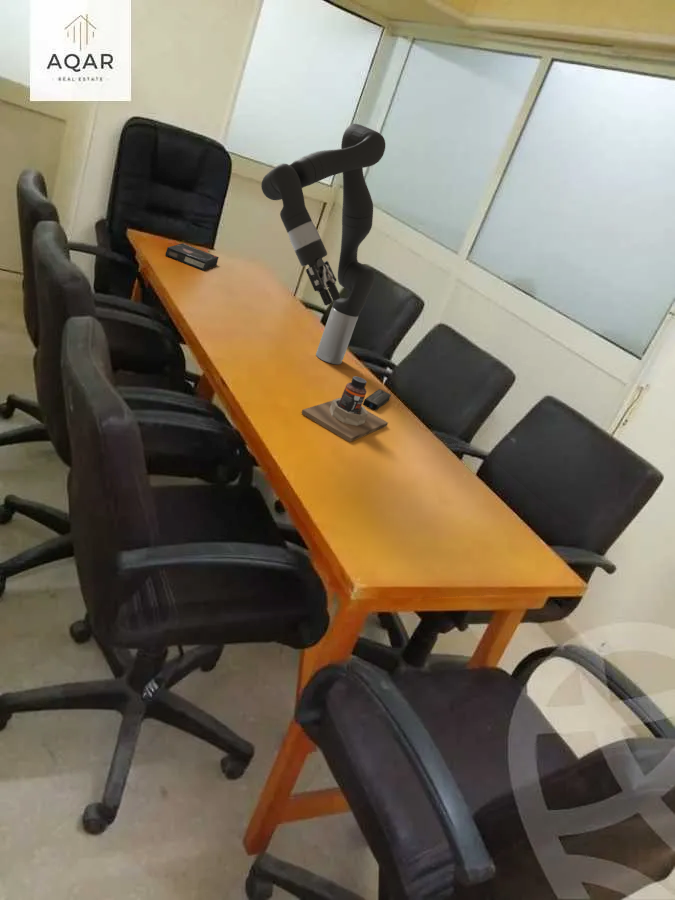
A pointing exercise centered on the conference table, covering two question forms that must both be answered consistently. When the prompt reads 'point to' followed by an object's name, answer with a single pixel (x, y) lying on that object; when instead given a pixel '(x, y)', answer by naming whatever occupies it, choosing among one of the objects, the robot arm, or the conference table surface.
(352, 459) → the conference table surface
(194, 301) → the conference table surface
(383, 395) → the multiport hub
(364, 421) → the ring stand
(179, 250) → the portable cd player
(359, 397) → the supplement bottle
